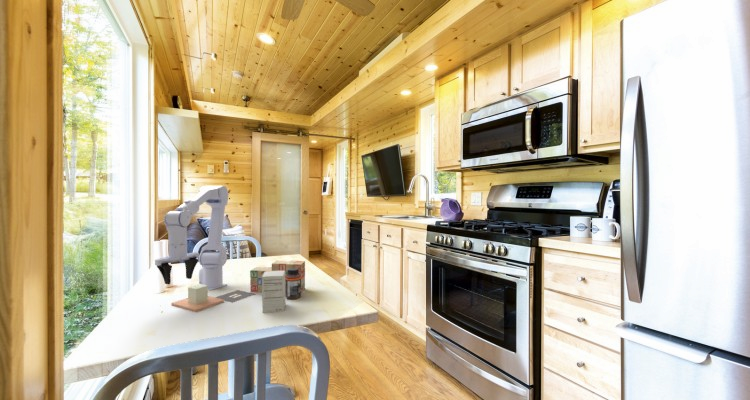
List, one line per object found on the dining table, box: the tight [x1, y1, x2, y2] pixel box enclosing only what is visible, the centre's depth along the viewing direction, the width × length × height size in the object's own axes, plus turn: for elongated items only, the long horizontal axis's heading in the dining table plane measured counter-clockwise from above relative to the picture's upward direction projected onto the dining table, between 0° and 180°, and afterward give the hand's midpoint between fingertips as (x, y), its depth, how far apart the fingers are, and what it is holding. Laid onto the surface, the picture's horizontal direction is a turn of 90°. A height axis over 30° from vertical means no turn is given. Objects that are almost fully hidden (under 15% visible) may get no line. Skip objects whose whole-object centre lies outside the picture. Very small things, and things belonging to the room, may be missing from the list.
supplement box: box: [261, 271, 287, 313], centre depth 111 cm, size 7×7×13 cm
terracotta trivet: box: [171, 295, 225, 313], centre depth 115 cm, size 14×11×1 cm
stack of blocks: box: [249, 259, 306, 294], centre depth 131 cm, size 21×6×12 cm, turn 86°
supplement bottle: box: [285, 268, 302, 300], centre depth 122 cm, size 6×6×11 cm
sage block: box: [187, 283, 209, 304], centre depth 115 cm, size 4×4×6 cm
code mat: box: [214, 289, 256, 304], centre depth 123 cm, size 11×11×1 cm
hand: (178, 281), depth 114 cm, fingers open, 7 cm apart
